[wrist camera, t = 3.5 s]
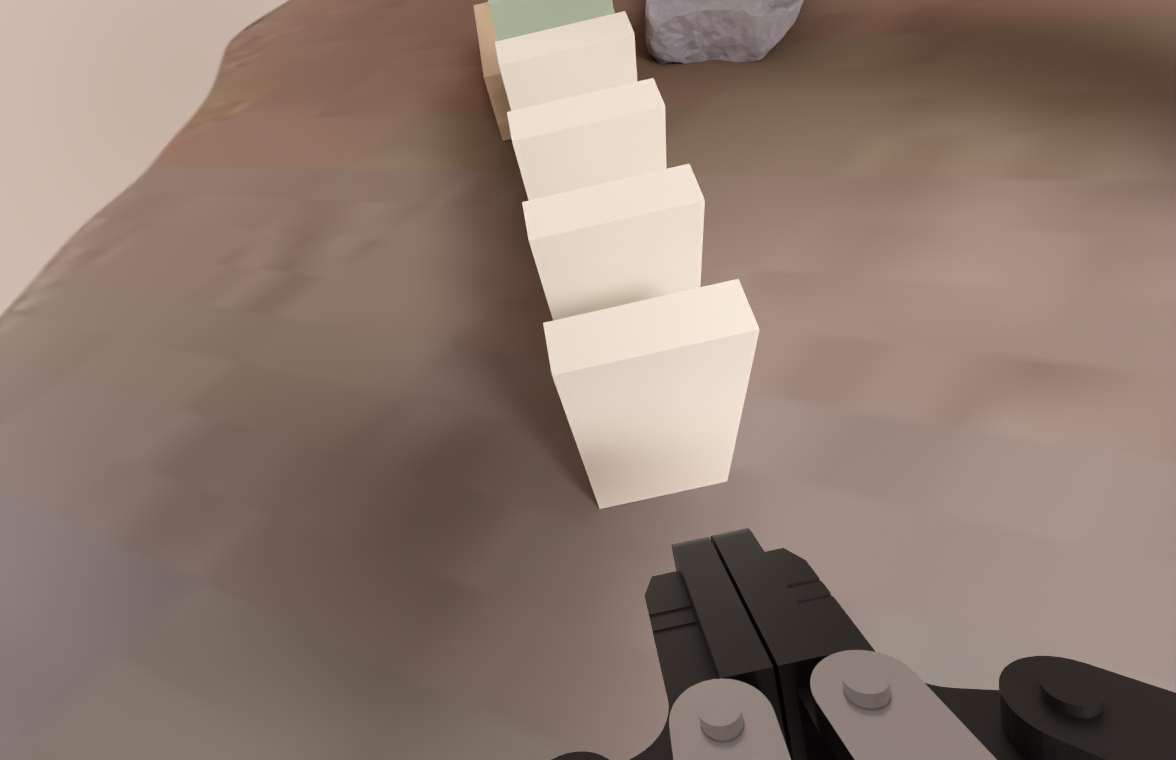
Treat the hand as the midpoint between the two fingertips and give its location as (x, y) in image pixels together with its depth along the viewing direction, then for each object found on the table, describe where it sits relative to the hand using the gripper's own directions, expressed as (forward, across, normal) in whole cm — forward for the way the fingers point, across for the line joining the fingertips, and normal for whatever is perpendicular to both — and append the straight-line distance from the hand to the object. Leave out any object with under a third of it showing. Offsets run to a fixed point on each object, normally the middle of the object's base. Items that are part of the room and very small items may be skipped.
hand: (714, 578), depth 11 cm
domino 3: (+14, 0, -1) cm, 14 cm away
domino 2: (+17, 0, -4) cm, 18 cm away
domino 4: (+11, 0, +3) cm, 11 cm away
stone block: (+33, -13, -19) cm, 40 cm away
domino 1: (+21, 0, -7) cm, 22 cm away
